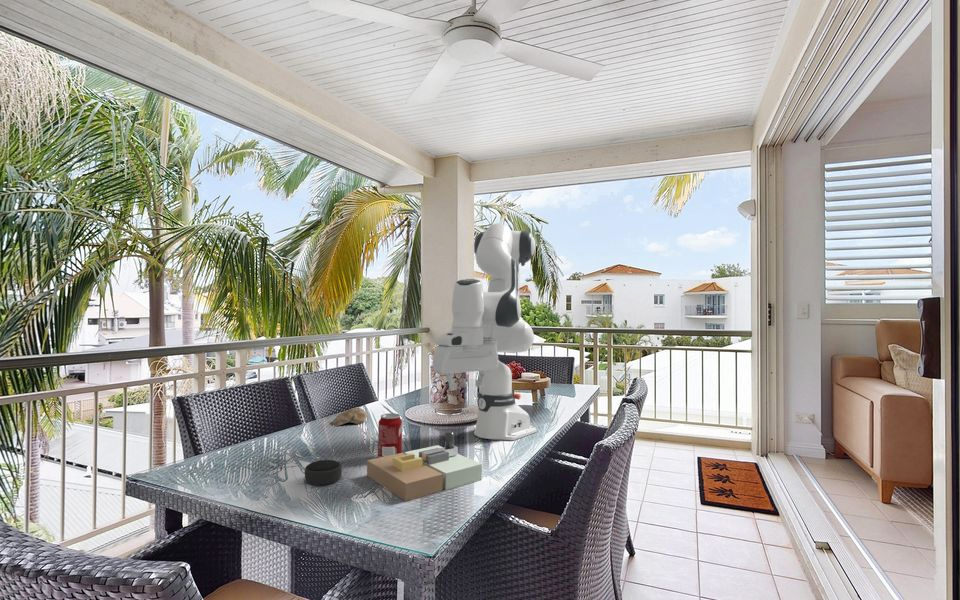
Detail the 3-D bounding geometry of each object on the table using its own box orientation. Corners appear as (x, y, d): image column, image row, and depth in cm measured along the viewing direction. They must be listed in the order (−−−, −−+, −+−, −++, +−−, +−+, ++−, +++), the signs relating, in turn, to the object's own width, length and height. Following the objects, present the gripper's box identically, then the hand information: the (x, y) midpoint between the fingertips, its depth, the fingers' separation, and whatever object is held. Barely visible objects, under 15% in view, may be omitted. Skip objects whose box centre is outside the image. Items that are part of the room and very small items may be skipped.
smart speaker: (348, 476, 126) (348, 460, 126) (329, 488, 118) (329, 472, 118) (317, 472, 128) (318, 457, 128) (297, 485, 120) (297, 468, 120)
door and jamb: (437, 459, 140) (438, 438, 140) (481, 479, 124) (481, 456, 124) (366, 475, 126) (367, 452, 126) (405, 501, 111) (406, 474, 111)
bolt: (453, 452, 132) (453, 430, 132) (458, 454, 131) (458, 432, 131) (421, 459, 126) (421, 436, 126) (426, 462, 124) (426, 438, 124)
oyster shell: (331, 421, 183) (331, 408, 183) (365, 418, 187) (365, 405, 187) (332, 427, 174) (332, 413, 174) (368, 425, 178) (368, 411, 178)
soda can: (396, 461, 137) (397, 419, 137) (374, 459, 139) (374, 417, 139) (405, 454, 144) (405, 413, 144) (383, 452, 145) (384, 412, 145)
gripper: (489, 336, 143) (488, 383, 143) (430, 338, 130) (429, 389, 130) (503, 337, 138) (502, 386, 138) (443, 339, 125) (442, 393, 125)
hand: (466, 388), depth 134 cm, fingers open, 8 cm apart
